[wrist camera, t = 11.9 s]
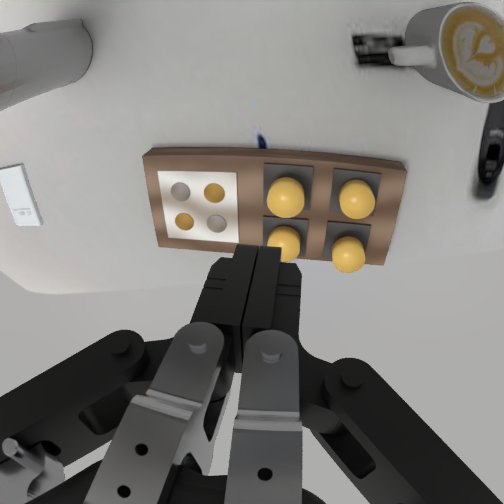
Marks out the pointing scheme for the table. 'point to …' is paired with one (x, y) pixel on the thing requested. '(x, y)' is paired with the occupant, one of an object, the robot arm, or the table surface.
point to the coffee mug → (457, 49)
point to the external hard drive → (20, 196)
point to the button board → (255, 198)
